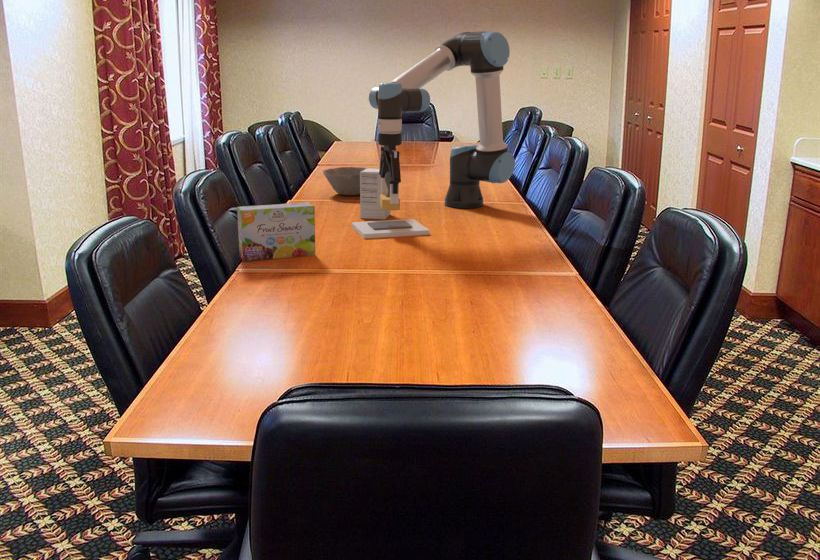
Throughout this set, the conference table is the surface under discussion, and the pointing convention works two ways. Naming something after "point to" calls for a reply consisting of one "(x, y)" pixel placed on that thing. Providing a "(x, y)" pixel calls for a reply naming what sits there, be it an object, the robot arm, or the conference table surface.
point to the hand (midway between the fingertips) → (389, 200)
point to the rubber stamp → (388, 197)
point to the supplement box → (371, 195)
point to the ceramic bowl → (344, 179)
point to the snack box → (276, 231)
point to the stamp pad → (390, 228)
